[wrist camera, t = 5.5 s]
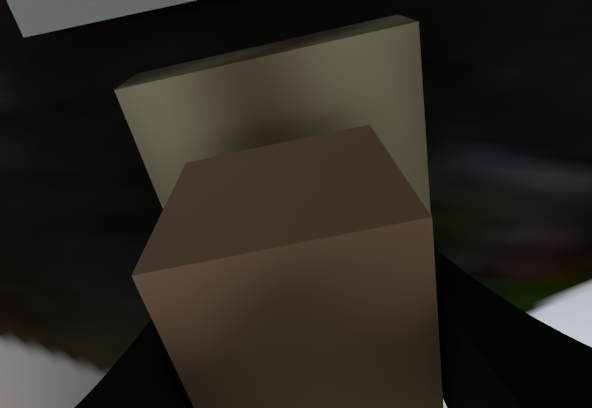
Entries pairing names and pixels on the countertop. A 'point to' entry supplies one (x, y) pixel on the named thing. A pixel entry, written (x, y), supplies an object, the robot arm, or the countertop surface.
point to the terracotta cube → (297, 279)
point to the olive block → (284, 99)
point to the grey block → (75, 12)
